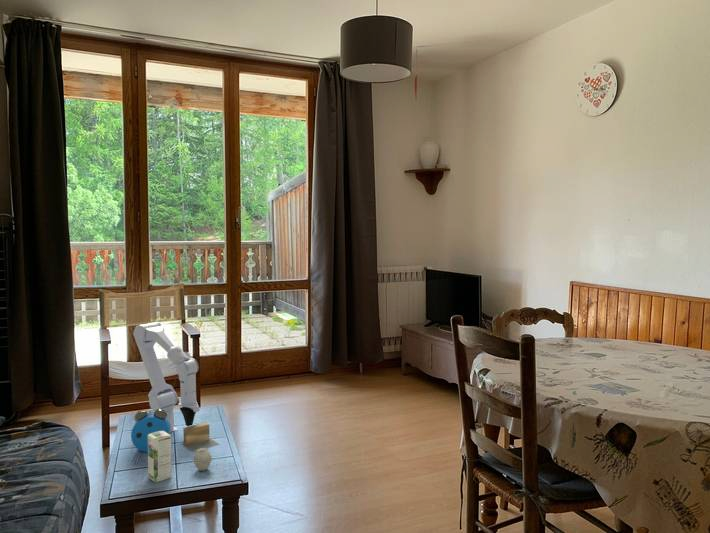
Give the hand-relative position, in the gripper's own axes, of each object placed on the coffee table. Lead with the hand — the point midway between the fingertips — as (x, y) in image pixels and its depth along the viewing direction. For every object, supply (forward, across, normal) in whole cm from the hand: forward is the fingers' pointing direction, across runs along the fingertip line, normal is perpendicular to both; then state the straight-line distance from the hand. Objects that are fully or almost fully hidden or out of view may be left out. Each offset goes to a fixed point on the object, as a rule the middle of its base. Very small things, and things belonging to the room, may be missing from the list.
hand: (189, 425), depth 208 cm
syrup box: (+5, +26, -22) cm, 34 cm away
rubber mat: (+5, +9, 0) cm, 10 cm away
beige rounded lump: (+5, +30, -8) cm, 31 cm away
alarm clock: (+5, +2, -15) cm, 16 cm away
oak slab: (+4, +6, 0) cm, 8 cm away
